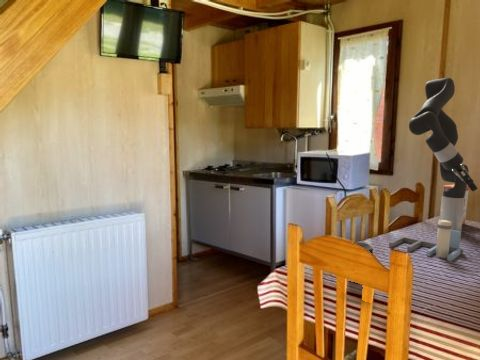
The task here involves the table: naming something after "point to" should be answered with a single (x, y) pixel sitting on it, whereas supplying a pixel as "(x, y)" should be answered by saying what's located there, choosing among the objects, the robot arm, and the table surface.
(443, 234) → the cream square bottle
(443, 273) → the table surface
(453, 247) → the cable comb
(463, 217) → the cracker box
